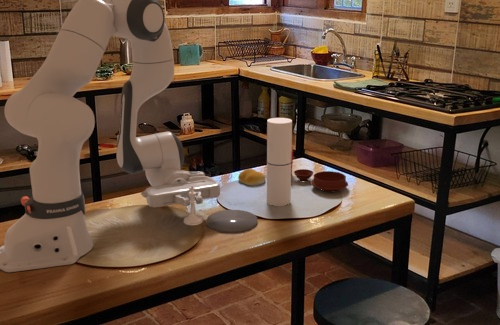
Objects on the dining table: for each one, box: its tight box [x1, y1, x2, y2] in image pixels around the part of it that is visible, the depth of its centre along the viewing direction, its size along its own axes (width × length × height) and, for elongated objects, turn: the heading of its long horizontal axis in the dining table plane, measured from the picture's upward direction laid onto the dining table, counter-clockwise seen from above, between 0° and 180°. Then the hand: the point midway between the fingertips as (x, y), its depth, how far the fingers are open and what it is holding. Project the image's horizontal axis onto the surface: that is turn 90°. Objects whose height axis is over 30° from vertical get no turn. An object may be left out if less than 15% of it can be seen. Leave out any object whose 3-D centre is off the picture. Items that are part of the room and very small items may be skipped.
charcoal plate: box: [206, 209, 258, 234], centre depth 155 cm, size 14×14×1 cm
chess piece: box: [183, 186, 203, 226], centre depth 148 cm, size 5×5×10 cm
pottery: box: [293, 168, 349, 193], centre depth 183 cm, size 12×20×4 cm, turn 43°
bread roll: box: [237, 168, 266, 186], centre depth 187 cm, size 8×9×4 cm
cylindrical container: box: [266, 117, 293, 207], centre depth 166 cm, size 7×7×25 cm
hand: (193, 202), depth 147 cm, fingers closed on chess piece, 2 cm apart
